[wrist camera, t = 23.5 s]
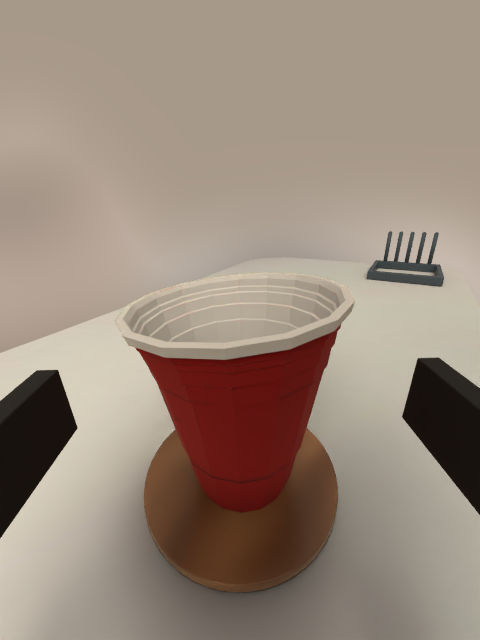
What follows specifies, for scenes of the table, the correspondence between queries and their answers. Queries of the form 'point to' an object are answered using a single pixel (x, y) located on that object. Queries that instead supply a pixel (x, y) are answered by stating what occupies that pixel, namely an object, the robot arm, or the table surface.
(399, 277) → the grey square frame
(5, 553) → the table surface
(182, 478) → the wooden coaster
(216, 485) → the plastic cup
